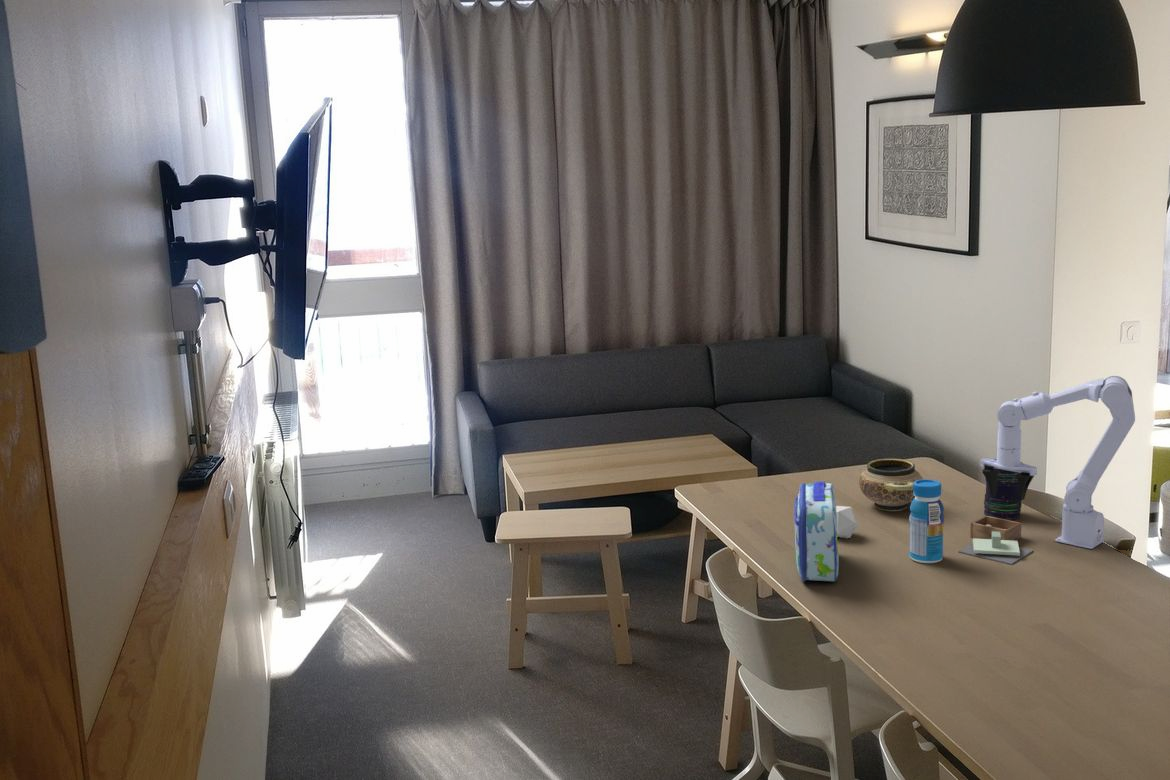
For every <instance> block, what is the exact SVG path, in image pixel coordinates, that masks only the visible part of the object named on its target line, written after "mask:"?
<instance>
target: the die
mask: <svg viewBox="0 0 1170 780" xmlns="http://www.w3.org/2000/svg"><path fill="white" fill-rule="evenodd" d="M836 512H837V537H840V538H839V539H848V538H850V539H851V537H852V535H853V534H854V532H855V530H856V528H857V526H858V525H859V522H858V519H857V516H856V515H855V512H854V509H853V507H852V506H844V505H836Z"/></svg>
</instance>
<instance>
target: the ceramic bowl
mask: <svg viewBox="0 0 1170 780" xmlns="http://www.w3.org/2000/svg"><path fill="white" fill-rule="evenodd" d="M915 466H916V465H915V463H914V462H913V461H912V460H911V461H910V460H908V459H903V458H878V459H873V460H871V461H868V462H867V464H866V469H865V470H863V471H862V472H861V474H860V475H859V478H858V486H859V488H860V491H861V493H862V494H863V495H864V496H865V497H866V499H868V500H870V501H871V502H872V503H873V506H874V508H876V509H878V510H880V511H884V510H885V511H886V512H900V511H904V510H906V509H907V508H908V504H909V503H912V501H913V499H914V498H915V496H914V494H913V483H914V482H915V481H917V480H922V479H924V478H923V476H922V475H921V473H920V472H919V471H918V470H917V469H916V468H915Z"/></svg>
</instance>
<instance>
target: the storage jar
mask: <svg viewBox="0 0 1170 780" xmlns="http://www.w3.org/2000/svg"><path fill="white" fill-rule="evenodd" d="M995 459H996V460H997V458H995ZM1020 463H1023V462H1022V461H1020ZM1020 474H1021V473H1019V472H1013V471H1007V470H1002V469H999V473H998V479H997V494H995V495H991V493H990V489H989V485H988V482H987V480H986V478H985V477H984V479H985V480H984V481H985V493H984V500H983V508H984V511H983V515H984V516H990V517H995V518H1000V519H1005V520H1016V519H1020V518H1021V515H1022V514H1021V509H1022V504H1023V503H1022V501H1020V500H1018V491H1019V487H1018V480H1017V476H1018V475H1020Z"/></svg>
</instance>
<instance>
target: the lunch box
mask: <svg viewBox="0 0 1170 780" xmlns="http://www.w3.org/2000/svg"><path fill="white" fill-rule="evenodd" d="M798 490H799V491H798V494H797V496H796V497H795V499H794V539H795V540H794V542H795V543H794V547H795V561H796V568H797V569H796V570H797V572H798V574H799V577H800V579H801V580H802V581H803V582H806V581H807V580H808V581H816V582H817V581H818V582H819V581H822V582H837V580H838V576H839V567H840V566H839V565H840V561H839V560H840V559H839V558H840V557H839V548H838V538H837V512H836V506H837V501H836V500H837V499H836V493H835V489H834V485H833V484H832V483H829V482H828V483H827V482H826V483H825V481H824V480H823V481H813V483H807V484H806V483H805V482H803V483H800V484H799V489H798Z"/></svg>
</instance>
